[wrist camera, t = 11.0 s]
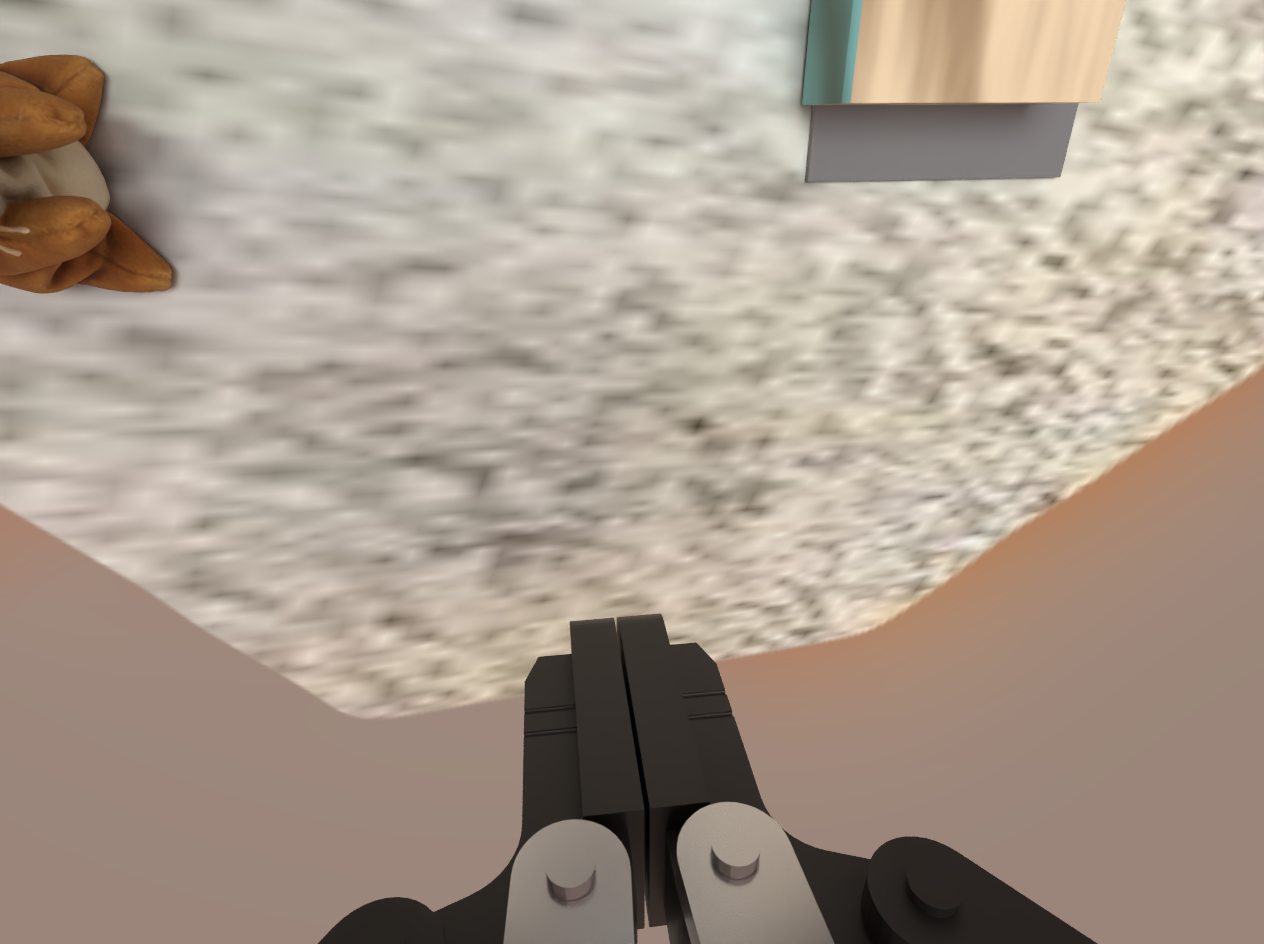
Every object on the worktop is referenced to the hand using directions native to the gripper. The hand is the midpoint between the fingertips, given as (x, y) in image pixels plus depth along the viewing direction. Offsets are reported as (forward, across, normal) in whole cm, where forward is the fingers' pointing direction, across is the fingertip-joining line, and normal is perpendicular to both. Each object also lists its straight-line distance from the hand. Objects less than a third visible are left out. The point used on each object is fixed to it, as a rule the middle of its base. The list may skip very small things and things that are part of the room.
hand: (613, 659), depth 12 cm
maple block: (+26, -12, -11) cm, 31 cm away
